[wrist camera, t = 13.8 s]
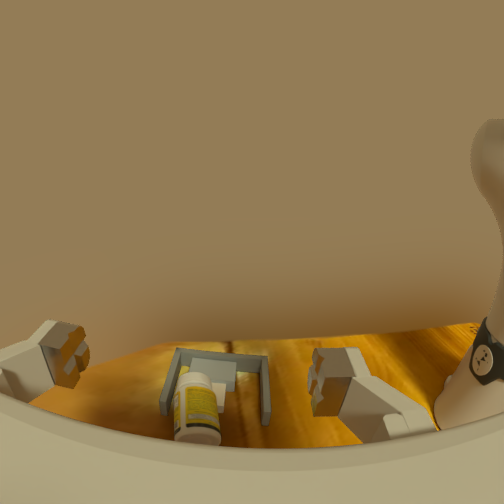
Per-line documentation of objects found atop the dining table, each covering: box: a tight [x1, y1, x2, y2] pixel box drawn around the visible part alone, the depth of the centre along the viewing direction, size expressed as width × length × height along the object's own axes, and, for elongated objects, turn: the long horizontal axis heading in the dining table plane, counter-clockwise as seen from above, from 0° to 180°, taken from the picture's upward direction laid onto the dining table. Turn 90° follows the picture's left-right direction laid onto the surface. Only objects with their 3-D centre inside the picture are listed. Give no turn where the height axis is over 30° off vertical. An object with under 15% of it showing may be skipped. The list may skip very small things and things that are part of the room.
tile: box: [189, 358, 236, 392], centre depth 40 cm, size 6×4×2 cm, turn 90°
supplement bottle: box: [174, 372, 221, 446], centre depth 31 cm, size 5×5×8 cm
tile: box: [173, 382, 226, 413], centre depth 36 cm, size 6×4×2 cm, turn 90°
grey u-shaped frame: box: [159, 348, 271, 426], centre depth 37 cm, size 13×11×2 cm
